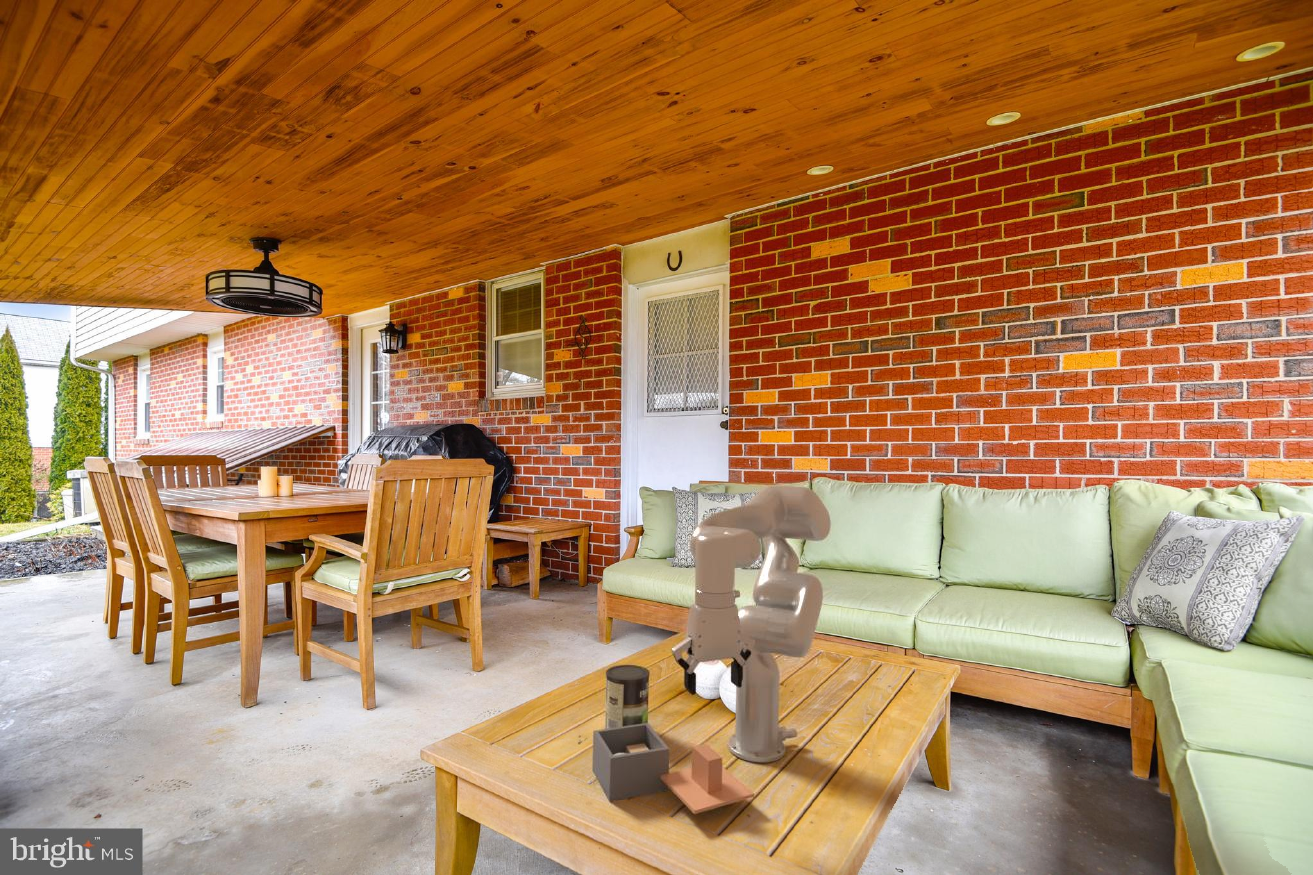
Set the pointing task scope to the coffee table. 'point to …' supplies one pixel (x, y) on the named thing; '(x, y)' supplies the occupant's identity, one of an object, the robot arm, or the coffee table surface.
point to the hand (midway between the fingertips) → (713, 688)
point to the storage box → (630, 761)
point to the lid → (706, 782)
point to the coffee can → (626, 696)
